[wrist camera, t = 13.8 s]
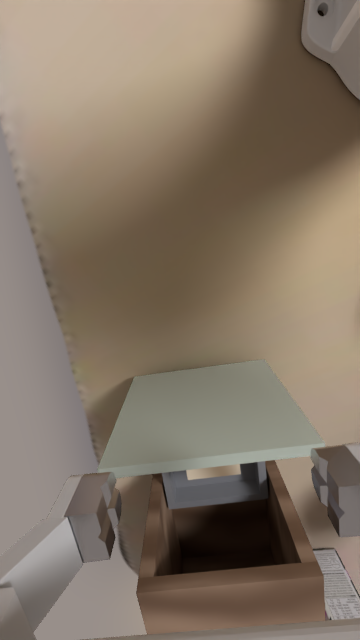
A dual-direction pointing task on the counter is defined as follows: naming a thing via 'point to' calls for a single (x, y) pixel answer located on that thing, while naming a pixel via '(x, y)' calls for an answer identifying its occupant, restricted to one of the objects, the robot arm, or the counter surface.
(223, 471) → the block
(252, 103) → the counter surface
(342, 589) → the candy bar box
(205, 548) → the tan box
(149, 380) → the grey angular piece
